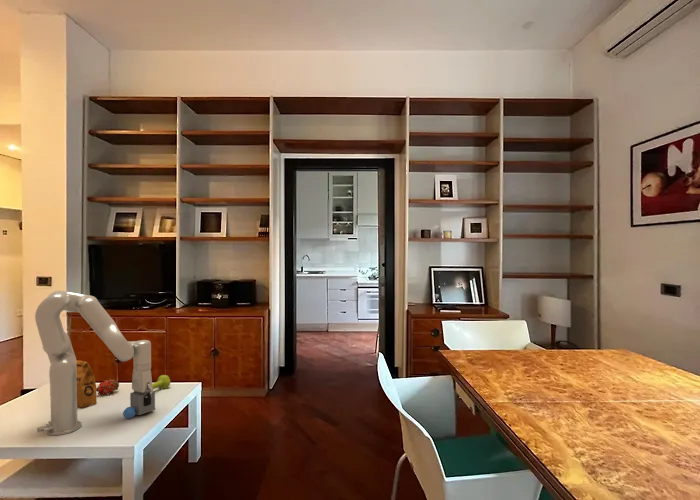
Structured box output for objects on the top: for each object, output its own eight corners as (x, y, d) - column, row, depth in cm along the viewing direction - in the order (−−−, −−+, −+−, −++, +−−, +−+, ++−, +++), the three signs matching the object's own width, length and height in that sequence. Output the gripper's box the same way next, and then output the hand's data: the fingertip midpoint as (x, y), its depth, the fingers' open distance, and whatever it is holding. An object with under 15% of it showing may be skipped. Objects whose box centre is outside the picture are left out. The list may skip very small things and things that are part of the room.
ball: (135, 419, 191) (125, 419, 187) (129, 417, 194) (119, 416, 190) (139, 408, 192) (129, 407, 188) (133, 406, 195) (123, 405, 191)
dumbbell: (148, 398, 217) (148, 384, 217) (137, 396, 220) (136, 382, 220) (172, 387, 232) (172, 375, 232) (161, 386, 235) (161, 373, 235)
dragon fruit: (121, 393, 228) (97, 403, 219) (115, 382, 232) (91, 391, 223) (122, 384, 223) (98, 393, 215) (116, 372, 227) (92, 381, 219)
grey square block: (139, 415, 191) (139, 396, 191) (130, 411, 195) (130, 392, 195) (155, 409, 198) (154, 391, 197) (146, 406, 202) (146, 388, 202)
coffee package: (79, 410, 201) (78, 365, 201) (66, 405, 208) (65, 361, 207) (100, 403, 210) (99, 360, 210) (87, 399, 216) (86, 357, 216)
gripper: (124, 365, 198) (125, 402, 198) (144, 371, 188) (145, 410, 188) (140, 362, 204) (140, 397, 204) (160, 367, 195) (160, 404, 195)
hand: (142, 403), depth 196 cm, fingers closed on grey square block, 7 cm apart
